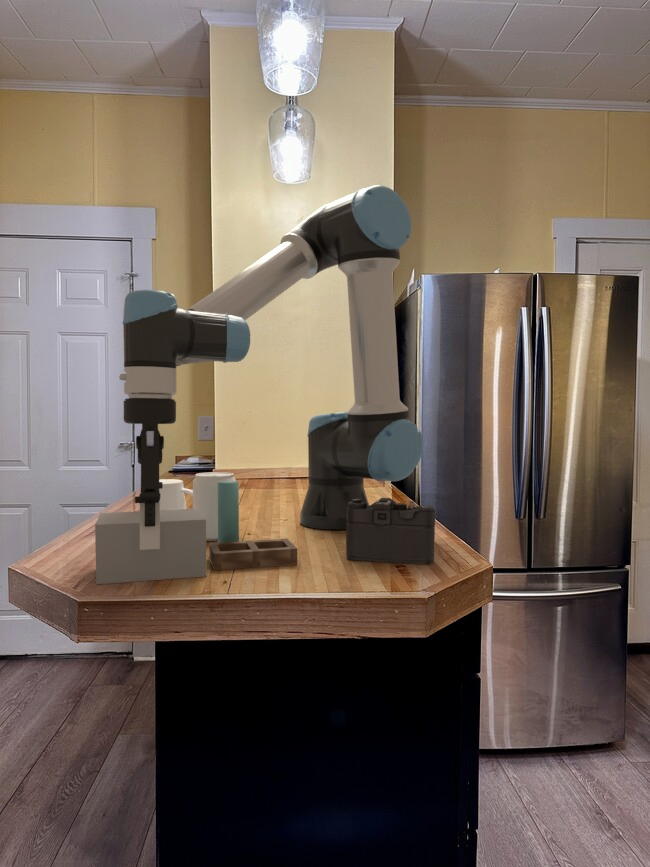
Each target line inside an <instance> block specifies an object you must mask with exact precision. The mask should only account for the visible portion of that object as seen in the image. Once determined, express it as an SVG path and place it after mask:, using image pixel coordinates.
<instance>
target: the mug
mask: <svg viewBox="0 0 650 867" xmlns="http://www.w3.org/2000/svg"><path fill="white" fill-rule="evenodd" d="M159 482H162V487H163V488H162V489H159V493H160V501H159V502H160V510H180V509H187V502H186V497H185V494H188V495H190V496H191V497H192V498H193V489H189V488H185V487H184V486H185V485H184V481H183V480H182V479H175V478H174V479H173V478H171V479H170V478H169V479H168V478H167V479H166V478H164V479H163V478H161V479H160V478H159ZM139 511H140V509H139Z"/></svg>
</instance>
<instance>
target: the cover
mask: <svg viewBox="0 0 650 867" xmlns="http://www.w3.org/2000/svg"><path fill="white" fill-rule="evenodd" d="M94 527H95V528H94V533H95V534H94V535H95V536H94V537H95V538H94V539H95V584H96V585H107V584H120V583H121V584H122V583H134V582H146V581H147V582H149V581H160V580H173V579H174V580H175V579H188V578H189V579H190V578H191V579H192V578H203V577H207V541H206V519H205V517H204V514H203V512H202V510H201V509H193V508H186V509H180V510H160V549H147V550H140V511H138V510H137V511H136V510H135V511H117V512H116V511H115V512H100V514H99V515H98V518H97V520H96V522H95V525H94Z"/></svg>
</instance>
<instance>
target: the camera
mask: <svg viewBox="0 0 650 867" xmlns="http://www.w3.org/2000/svg"><path fill="white" fill-rule="evenodd" d="M408 502H409V505H408V504H407V503H405V502H403V503H402V502H401V503H400V502H396V501H394V500H393V499H392V498H390V497H381V498H379V499H377V500H376V501H374V502H373V503H371V504H369V506H367V504H366V503H365V502H362V499H352V502H349V503H348V507H347V528H346V529H345V530H346V531H345V532H346V535H345V537H346V540H345V544H346V545H345V546H346V548H345V549H346V550H345V555H346V559H347V560H349V561H360V562H374V563H375V562H376V563H386V562H387V564H388V563H389V564H390V563H391V564H402V565H404V564H405V565H406V564H407V565H422V566H425V565H426V566H428V565H432V564H434V562H435V539H436V538H435V533H436V529H435V528H436V527H435V525H436V510H435V509H434V507H433V506H432V505H424V504H423V505H414V503H415V500H409V501H408Z"/></svg>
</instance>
